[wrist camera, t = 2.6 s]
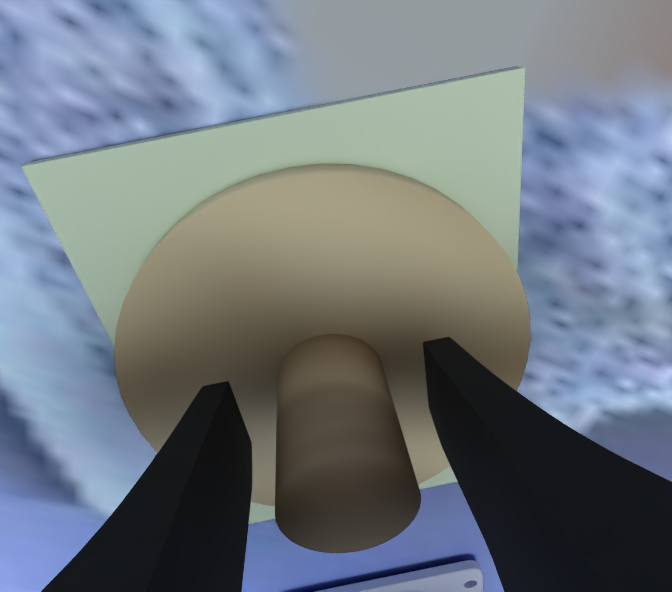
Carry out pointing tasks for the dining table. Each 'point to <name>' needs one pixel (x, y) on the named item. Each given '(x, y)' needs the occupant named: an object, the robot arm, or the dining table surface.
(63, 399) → the dining table surface
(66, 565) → the robot arm
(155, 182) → the mat
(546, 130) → the dining table surface
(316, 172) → the lid
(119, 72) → the dining table surface
